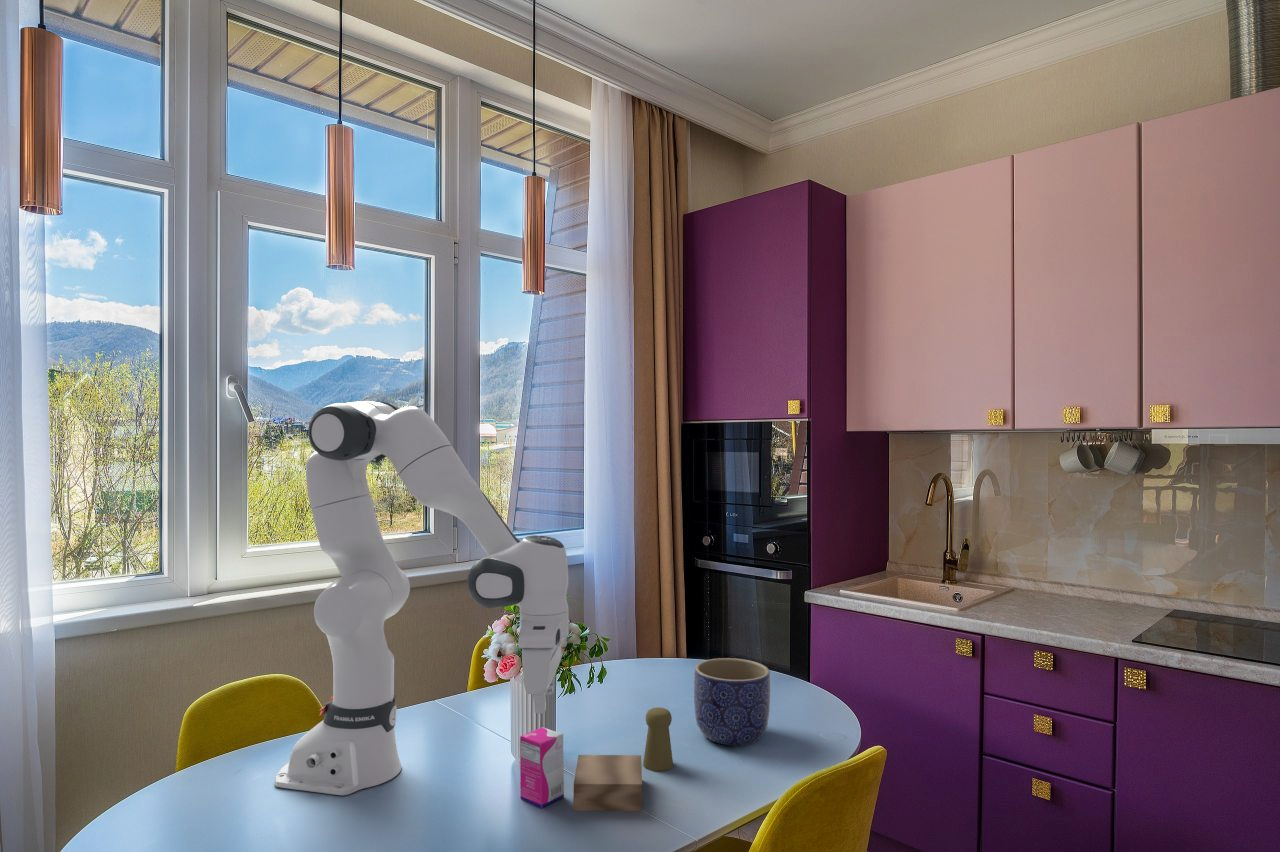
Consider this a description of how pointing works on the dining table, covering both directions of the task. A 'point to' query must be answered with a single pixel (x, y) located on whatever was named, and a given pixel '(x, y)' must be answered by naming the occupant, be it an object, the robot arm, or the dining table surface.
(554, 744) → the supplement box
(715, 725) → the planter
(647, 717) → the olive pawn
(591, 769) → the walnut block
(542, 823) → the dining table surface
